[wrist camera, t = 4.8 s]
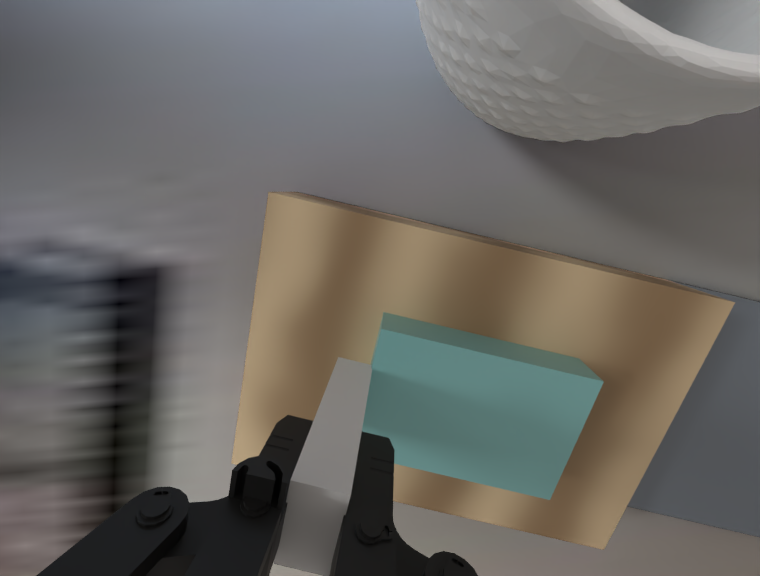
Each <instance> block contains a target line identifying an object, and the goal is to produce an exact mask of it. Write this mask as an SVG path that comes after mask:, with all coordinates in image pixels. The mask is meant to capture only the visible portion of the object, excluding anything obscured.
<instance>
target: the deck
mask: <svg viewBox="0 0 760 576" xmlns="http://www.w3.org/2000/svg"><path fill="white" fill-rule="evenodd" d="M734 304H735V302H732V301H729V300H726V299H723V298H720V297H717V296H714V295H711V294H708V293H705V292H702V291H699V290H696V289H693V288H690V287H687V286H684V285H681V284H678V283H675V282H672V281H669V280H666V279H662V278H658V277H653V276H649V275H645V274H641V273H636V272H632V271H628V270H624V269H620V268H615V267H611V266H607V265H603V264H598V263H594V262H590V261H586V260H582V259H577V258H573V257H569V256H565V255H560V254H556V253H552V252H548V251H544V250H539V249H535V248H531V247H527V246H523V245H518V244H514V243H510V242H506V241H501V240H497V239H493V238H489V237H485V236H480V235H476V234H472V233H468V232H463V231H459V230H455V229H451V228H447V227H442V226H438V225H434V224H430V223H425V222H421V221H417V220H413V219H409V218H404V217H400V216H396V215H392V214H387V213H383V212H379V211H375V210H371V209H366V208H362V207H358V206H354V205H349V204H345V203H341V202H337V201H333V200H328V199H324V198H320V197H316V196H312V195H307V194H303V193H299V192H268V199H267V207H266V214H265V221H264V229H263V236H262V243H261V251H260V258H259V265H258V273H257V280H256V287H255V295H254V302H253V309H252V317H251V324H250V331H249V339H248V346H247V353H246V361H245V368H244V375H243V383H242V390H241V397H240V404H239V412H238V419H237V426H236V434H235V441H234V448H233V456H232V463H231V464H236V465H238V464H239V463H240V462H242V461H244V460H246V459H247V458H250V457H255V456H259V454H260V452H261V450H262V449H263V447H264V446H265V443H266V441H267V440H268V438H269V436H270V434H271V432H272V430H273V429H274V427H275V425H276V423H277V422H278V421H280V420H281V419H283V418H284V417H285V416H287V415H291V416H296V417H300V418H304V419H308V420H312V421H314V418H315V416H316V413H317V411H318V408H319V405H320V403H321V400H322V398H323V395H324V393H325V390H326V388H327V385H328V382H329V380H330V377H331V375H332V372H333V370H334V367H335V364H336V362H337V359H338V357H340V358H344V359H349V360H353V361H357V362H361V363H365V364H369V365H370V364H371V360H372V356H373V352H374V348H375V344H376V340H377V336H378V332H379V328H380V324H381V320H382V316H383V312H386V313H390V314H394V315H398V316H402V317H407V318H411V319H415V320H419V321H423V322H428V323H432V324H436V325H440V326H444V327H449V328H453V329H457V330H461V331H465V332H470V333H474V334H478V335H482V336H486V337H491V338H495V339H499V340H503V341H507V342H512V343H516V344H520V345H524V346H528V347H533V348H537V349H541V350H545V351H550V352H554V353H558V354H562V355H566V356H571V357H575V358H579V359H580V360H581V361H582V362H583V363H584V364H586V365H587V366H588V367H589V368H590V369H591V370H592V371H593V372H594V373H595V374H596V375H597V376H598V377H599V378H601V379H602V380H603V381H604V383H603V385H602V387H601V389H600V391H599V394H598V396H597V398H596V400H595V402H594V404H593V407H592V409H591V411H590V413H589V415H588V418H587V420H586V422H585V424H584V426H583V429H582V431H581V433H580V435H579V437H578V440H577V442H576V444H575V446H574V448H573V451H572V453H571V455H570V457H569V459H568V461H567V464H566V466H565V468H564V470H563V472H562V475H561V477H560V479H559V481H558V483H557V486H556V488H555V490H554V492H553V494H552V497H551V499H550V500H547V499H543V498H539V497H534V496H530V495H526V494H522V493H517V492H513V491H509V490H505V489H500V488H496V487H492V486H488V485H483V484H479V483H475V482H471V481H466V480H462V479H458V478H453V477H449V476H445V475H441V474H436V473H432V472H428V471H424V470H419V469H415V468H411V467H407V466H402V465H398V464H394V475H393V476H394V486H393V501H395V502H400V503H404V504H408V505H413V506H417V507H421V508H425V509H430V510H434V511H438V512H443V513H447V514H451V515H456V516H460V517H464V518H469V519H473V520H477V521H482V522H486V523H490V524H494V525H499V526H503V527H507V528H512V529H516V530H520V531H525V532H529V533H533V534H538V535H542V536H546V537H551V538H555V539H559V540H563V541H568V542H572V543H576V544H581V545H585V546H589V547H594V548H598V549H602V550H604V549H605V547H606V545H607V543H608V541H609V539H610V537H611V535H612V534H613V532H614V530H615V528H616V526H617V524H618V522H619V520H620V518H621V517H622V515H623V513H624V511H625V509H626V507H627V505H628V503H629V502H630V500H631V498H632V496H633V494H634V492H635V490H636V488H637V486H638V485H639V483H640V481H641V479H642V477H643V475H644V473H645V471H646V470H647V468H648V466H649V464H650V462H651V460H652V458H653V456H654V454H655V453H656V451H657V449H658V447H659V445H660V443H661V441H662V439H663V438H664V436H665V434H666V432H667V430H668V428H669V426H670V424H671V422H672V421H673V419H674V417H675V415H676V413H677V411H678V409H679V407H680V406H681V404H682V402H683V400H684V398H685V396H686V394H687V392H688V390H689V389H690V387H691V385H692V383H693V381H694V379H695V377H696V375H697V373H698V372H699V370H700V368H701V366H702V364H703V362H704V360H705V358H706V357H707V355H708V353H709V351H710V349H711V347H712V345H713V343H714V341H715V340H716V338H717V336H718V334H719V332H720V330H721V328H722V326H723V325H724V323H725V321H726V319H727V317H728V315H729V313H730V311H731V309H732V308H733V306H734Z"/></svg>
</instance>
